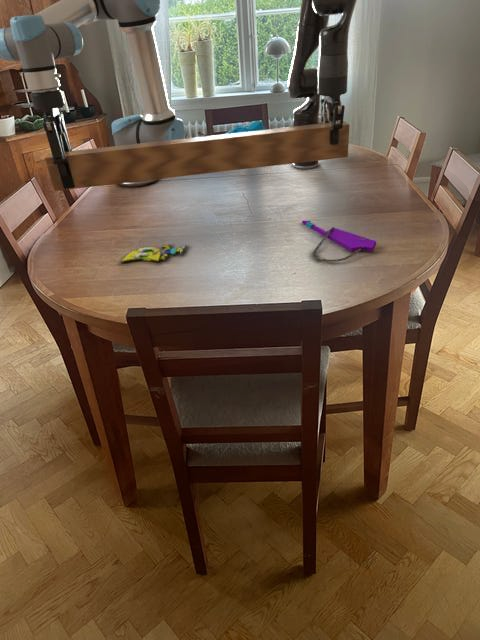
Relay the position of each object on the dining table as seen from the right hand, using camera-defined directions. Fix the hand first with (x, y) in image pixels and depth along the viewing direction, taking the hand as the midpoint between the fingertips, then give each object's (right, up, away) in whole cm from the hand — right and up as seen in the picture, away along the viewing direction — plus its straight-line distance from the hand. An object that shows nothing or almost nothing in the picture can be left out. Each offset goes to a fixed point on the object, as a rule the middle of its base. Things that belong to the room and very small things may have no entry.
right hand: (331, 141), depth 133 cm
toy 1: (-48, -32, -7) cm, 58 cm away
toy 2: (-29, +24, +77) cm, 85 cm away
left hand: (-71, -13, -4) cm, 72 cm away
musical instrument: (-3, -30, -10) cm, 32 cm away
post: (-35, -8, -1) cm, 36 cm away
